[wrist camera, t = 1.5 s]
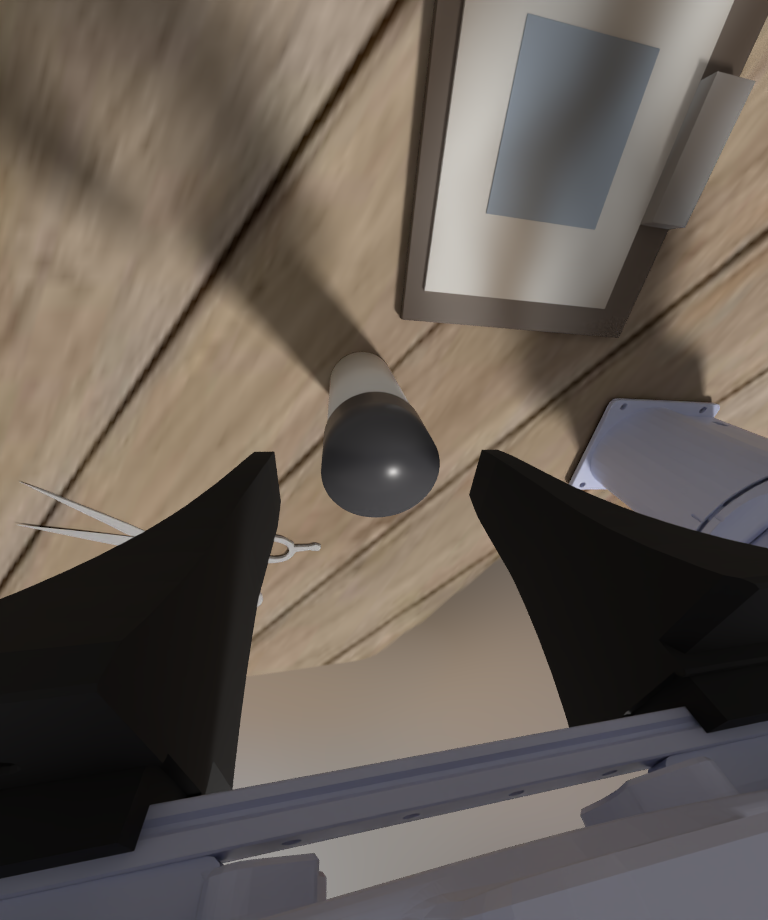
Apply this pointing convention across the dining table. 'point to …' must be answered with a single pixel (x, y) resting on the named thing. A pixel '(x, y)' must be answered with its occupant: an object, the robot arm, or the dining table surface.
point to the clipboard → (565, 153)
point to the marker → (374, 441)
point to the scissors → (136, 531)
